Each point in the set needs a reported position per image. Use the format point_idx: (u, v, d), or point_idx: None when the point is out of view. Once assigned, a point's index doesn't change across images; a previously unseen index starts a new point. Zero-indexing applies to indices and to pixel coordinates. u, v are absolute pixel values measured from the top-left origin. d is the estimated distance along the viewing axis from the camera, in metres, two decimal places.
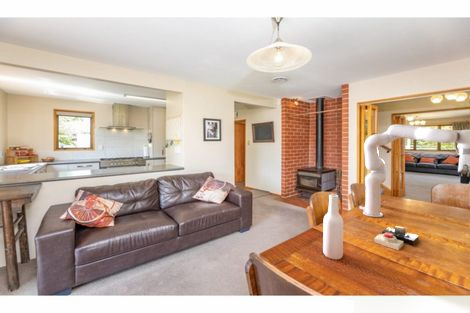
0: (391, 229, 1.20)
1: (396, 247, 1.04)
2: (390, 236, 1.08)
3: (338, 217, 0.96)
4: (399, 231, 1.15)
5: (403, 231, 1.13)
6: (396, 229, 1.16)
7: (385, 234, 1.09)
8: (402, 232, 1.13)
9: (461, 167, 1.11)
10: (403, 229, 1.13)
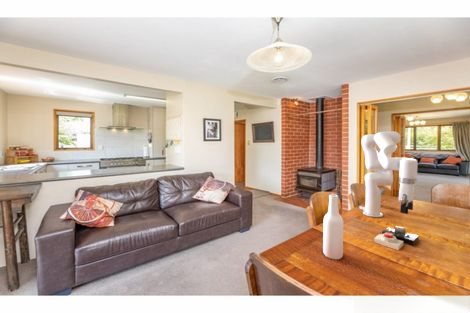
0: (391, 229, 1.20)
1: (396, 247, 1.04)
2: (390, 236, 1.08)
3: (338, 217, 0.96)
4: (399, 231, 1.15)
5: (403, 231, 1.13)
6: (396, 229, 1.16)
7: (385, 234, 1.09)
8: (402, 232, 1.13)
9: (401, 196, 1.11)
10: (403, 229, 1.13)
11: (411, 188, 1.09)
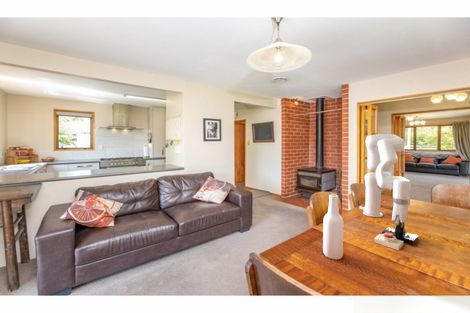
0: (391, 229, 1.20)
1: (396, 247, 1.04)
2: (390, 236, 1.08)
3: (338, 217, 0.96)
4: None
5: (403, 231, 1.13)
6: None
7: (385, 234, 1.09)
8: None
9: (394, 220, 1.13)
10: (403, 229, 1.13)
11: (404, 209, 1.10)
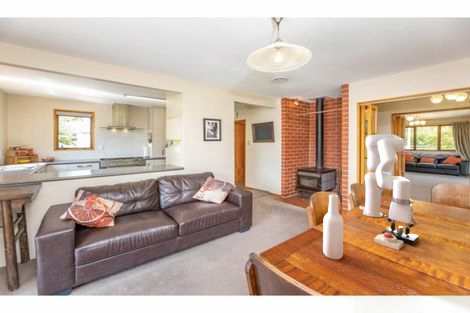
0: (391, 229, 1.20)
1: (396, 247, 1.04)
2: (390, 236, 1.08)
3: (338, 217, 0.96)
4: None
5: None
6: None
7: (385, 234, 1.09)
8: None
9: None
10: None
11: (393, 206, 1.15)
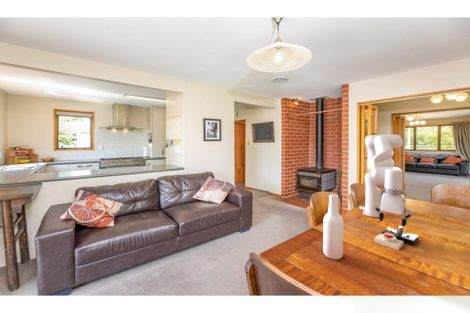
0: (391, 229, 1.20)
1: (396, 247, 1.04)
2: (390, 236, 1.08)
3: (338, 217, 0.96)
4: None
5: None
6: None
7: (385, 234, 1.09)
8: None
9: None
10: None
11: (385, 197, 1.10)
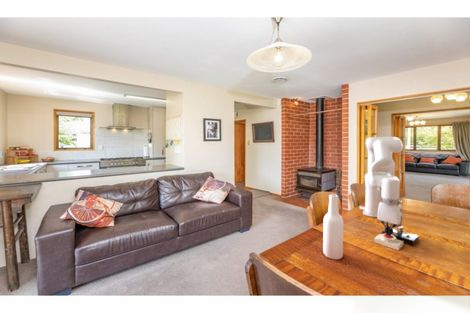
0: None
1: (396, 247, 1.04)
2: (390, 236, 1.08)
3: (338, 217, 0.96)
4: None
5: None
6: None
7: (385, 234, 1.09)
8: None
9: None
10: None
11: (382, 206, 1.09)
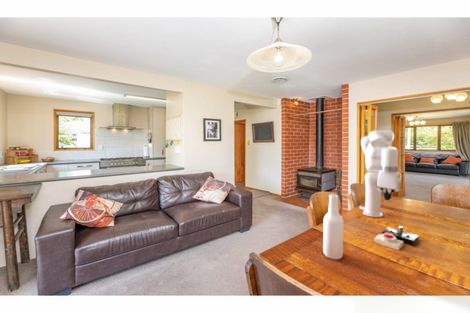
0: (391, 229, 1.20)
1: (396, 247, 1.04)
2: (390, 236, 1.08)
3: (338, 217, 0.96)
4: None
5: None
6: None
7: (385, 234, 1.09)
8: None
9: None
10: None
11: (381, 174, 1.20)
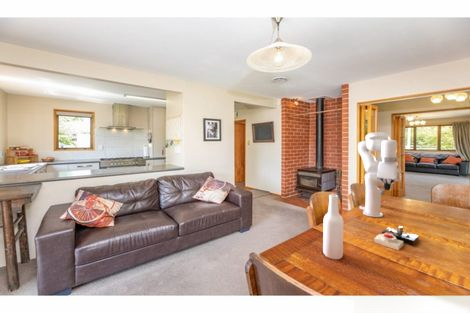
0: (391, 229, 1.20)
1: (396, 247, 1.04)
2: (390, 236, 1.08)
3: (338, 217, 0.96)
4: None
5: None
6: None
7: (385, 234, 1.09)
8: None
9: None
10: None
11: (381, 165, 1.25)
